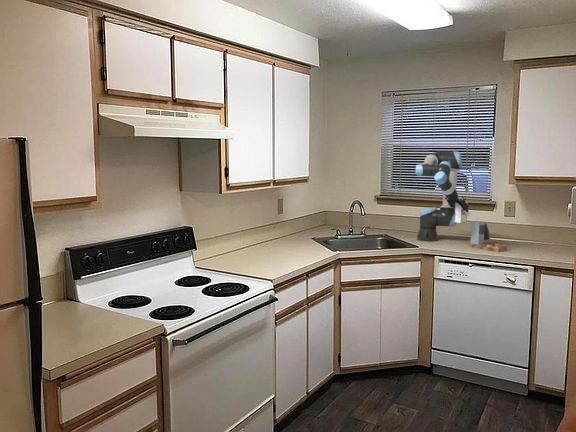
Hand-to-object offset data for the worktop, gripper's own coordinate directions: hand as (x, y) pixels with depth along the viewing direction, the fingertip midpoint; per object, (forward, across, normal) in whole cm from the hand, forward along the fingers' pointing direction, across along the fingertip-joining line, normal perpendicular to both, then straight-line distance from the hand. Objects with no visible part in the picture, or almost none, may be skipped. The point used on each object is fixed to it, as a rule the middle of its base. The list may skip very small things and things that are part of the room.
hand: (464, 214), depth 344 cm
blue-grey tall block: (+20, +5, -9) cm, 23 cm away
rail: (+22, +13, -10) cm, 27 cm away
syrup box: (+1, 0, -7) cm, 7 cm away
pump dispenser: (+30, 0, -2) cm, 30 cm away
